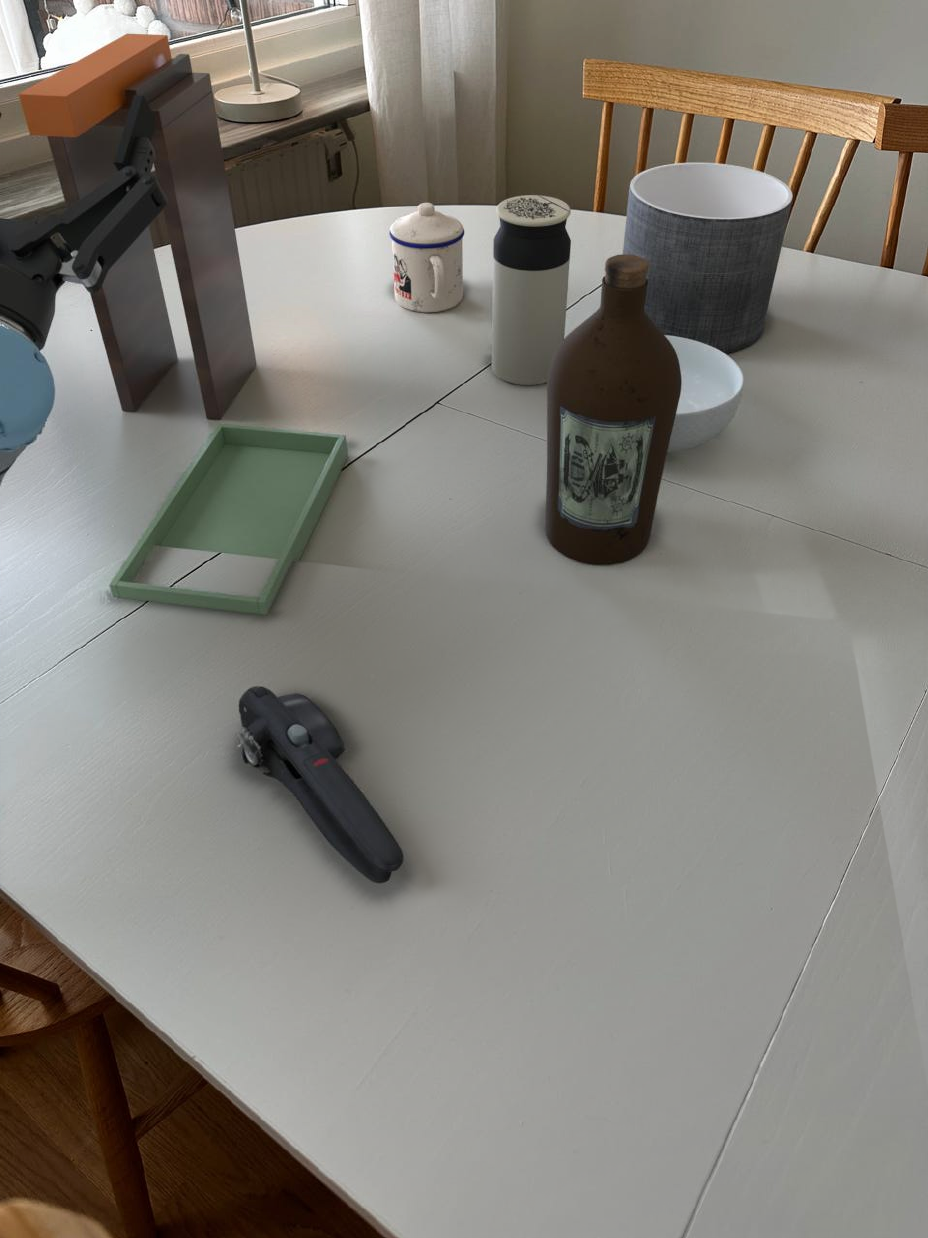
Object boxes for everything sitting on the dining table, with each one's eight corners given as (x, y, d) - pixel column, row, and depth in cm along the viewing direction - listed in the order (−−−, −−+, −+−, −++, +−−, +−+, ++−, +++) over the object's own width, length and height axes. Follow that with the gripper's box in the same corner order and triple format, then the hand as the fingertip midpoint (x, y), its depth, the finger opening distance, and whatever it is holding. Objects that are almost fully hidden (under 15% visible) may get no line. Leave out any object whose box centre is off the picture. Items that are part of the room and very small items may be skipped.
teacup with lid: (387, 287, 127) (381, 194, 119) (455, 280, 128) (454, 188, 120) (405, 328, 118) (400, 232, 110) (478, 320, 120) (478, 224, 112)
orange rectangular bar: (29, 134, 78) (17, 93, 76) (134, 69, 92) (126, 33, 90) (76, 137, 77) (65, 95, 75) (174, 71, 92) (167, 34, 90)
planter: (760, 296, 124) (787, 166, 114) (767, 363, 112) (798, 223, 101) (619, 286, 127) (633, 158, 116) (610, 350, 114) (625, 213, 103)
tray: (116, 607, 81) (108, 584, 80) (222, 444, 100) (218, 422, 98) (268, 625, 80) (264, 602, 78) (348, 456, 98) (346, 434, 96)
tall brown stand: (121, 411, 104) (32, 84, 83) (166, 357, 113) (95, 49, 92) (220, 420, 103) (154, 90, 82) (257, 365, 112) (206, 54, 90)
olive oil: (548, 492, 93) (566, 228, 76) (660, 507, 91) (704, 240, 74) (528, 562, 85) (543, 285, 68) (650, 579, 84) (697, 300, 67)
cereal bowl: (698, 385, 108) (709, 325, 103) (757, 469, 96) (772, 405, 91) (549, 399, 106) (552, 338, 101) (589, 486, 94) (596, 422, 89)
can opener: (221, 744, 70) (207, 691, 67) (307, 703, 73) (298, 649, 69) (344, 928, 60) (336, 877, 56) (439, 871, 63) (437, 818, 59)
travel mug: (510, 393, 107) (515, 227, 94) (479, 361, 112) (481, 200, 100) (574, 378, 109) (587, 214, 97) (541, 347, 114) (550, 188, 102)
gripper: (-129, 347, 78) (-49, 132, 84) (167, 373, 74) (228, 148, 81) (-198, 288, 71) (-105, 58, 77) (126, 314, 67) (197, 72, 73)
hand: (66, 104), depth 79 cm, fingers open, 13 cm apart
